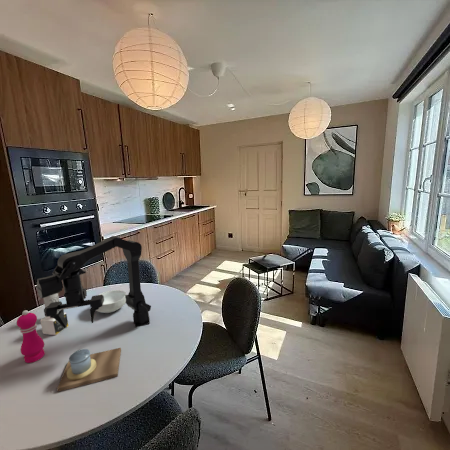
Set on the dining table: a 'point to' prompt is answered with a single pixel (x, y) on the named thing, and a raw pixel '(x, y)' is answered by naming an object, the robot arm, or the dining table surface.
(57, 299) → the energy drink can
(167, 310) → the dining table surface
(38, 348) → the pepper mill
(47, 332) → the medicine bottle
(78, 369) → the cap
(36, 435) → the dining table surface
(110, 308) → the cereal bowl
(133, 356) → the dining table surface
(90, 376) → the base
